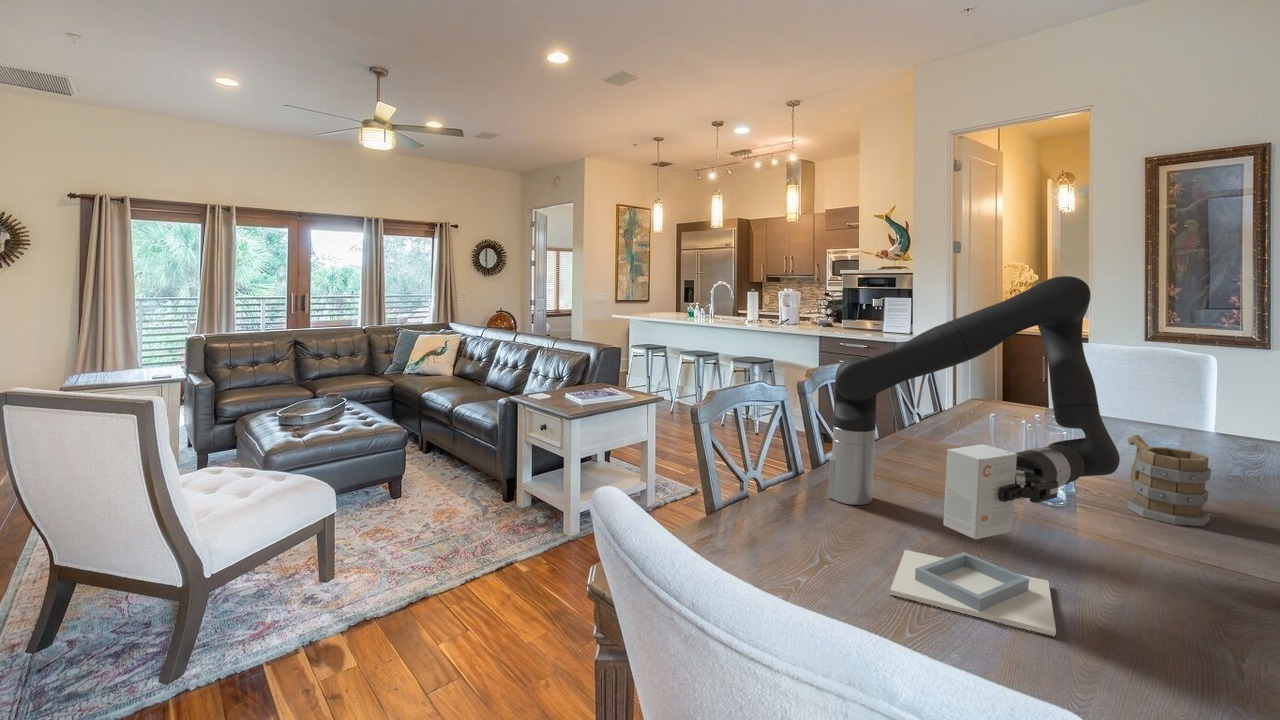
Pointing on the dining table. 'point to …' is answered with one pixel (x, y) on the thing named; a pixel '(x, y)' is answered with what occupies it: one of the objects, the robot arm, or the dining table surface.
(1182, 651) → the dining table surface
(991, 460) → the small box
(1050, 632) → the jig cradle
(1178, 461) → the tankard
